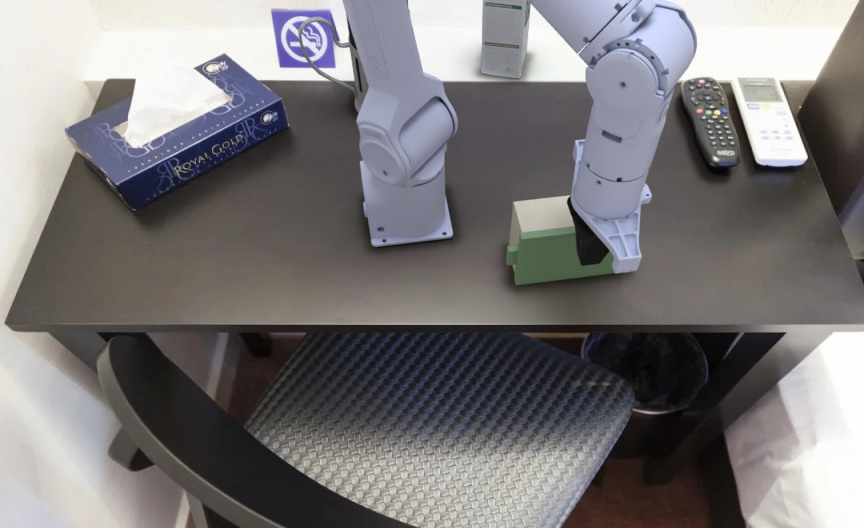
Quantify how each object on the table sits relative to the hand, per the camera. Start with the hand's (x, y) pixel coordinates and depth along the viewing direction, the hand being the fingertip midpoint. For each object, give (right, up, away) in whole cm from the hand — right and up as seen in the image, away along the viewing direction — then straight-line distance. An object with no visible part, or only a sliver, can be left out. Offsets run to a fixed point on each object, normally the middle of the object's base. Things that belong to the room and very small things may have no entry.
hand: (589, 259), depth 66 cm
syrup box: (-7, +30, +29) cm, 43 cm away
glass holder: (-26, +23, +24) cm, 42 cm away
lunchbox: (-1, +3, +6) cm, 7 cm away
